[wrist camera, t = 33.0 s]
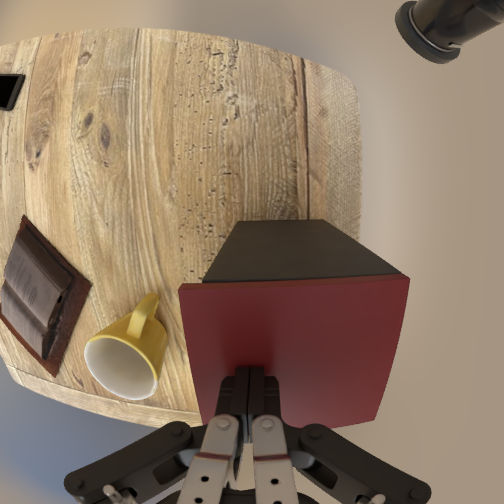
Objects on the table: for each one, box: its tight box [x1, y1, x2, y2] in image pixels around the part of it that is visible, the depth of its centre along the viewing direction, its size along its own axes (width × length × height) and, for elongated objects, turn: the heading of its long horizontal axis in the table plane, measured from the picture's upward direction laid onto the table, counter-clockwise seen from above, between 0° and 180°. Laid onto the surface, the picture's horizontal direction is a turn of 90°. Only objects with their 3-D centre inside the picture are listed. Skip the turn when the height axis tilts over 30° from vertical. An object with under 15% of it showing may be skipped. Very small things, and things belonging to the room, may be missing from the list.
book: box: [0, 214, 91, 378], centre depth 37 cm, size 20×28×4 cm
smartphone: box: [0, 74, 25, 111], centre depth 28 cm, size 7×15×1 cm, turn 67°
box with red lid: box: [202, 220, 402, 283], centre depth 25 cm, size 11×11×21 cm
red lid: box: [178, 274, 410, 429], centre depth 14 cm, size 12×11×1 cm
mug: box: [84, 292, 168, 400], centre depth 33 cm, size 14×10×10 cm
